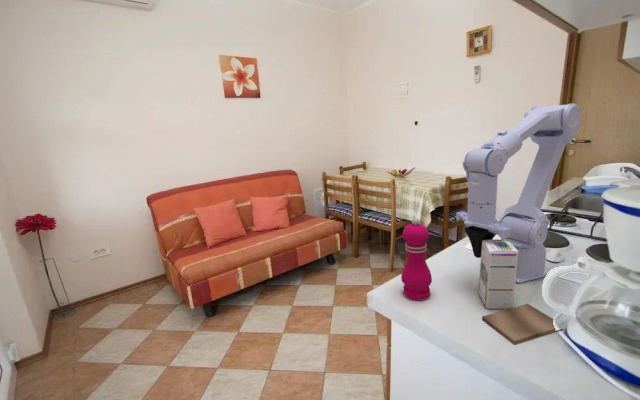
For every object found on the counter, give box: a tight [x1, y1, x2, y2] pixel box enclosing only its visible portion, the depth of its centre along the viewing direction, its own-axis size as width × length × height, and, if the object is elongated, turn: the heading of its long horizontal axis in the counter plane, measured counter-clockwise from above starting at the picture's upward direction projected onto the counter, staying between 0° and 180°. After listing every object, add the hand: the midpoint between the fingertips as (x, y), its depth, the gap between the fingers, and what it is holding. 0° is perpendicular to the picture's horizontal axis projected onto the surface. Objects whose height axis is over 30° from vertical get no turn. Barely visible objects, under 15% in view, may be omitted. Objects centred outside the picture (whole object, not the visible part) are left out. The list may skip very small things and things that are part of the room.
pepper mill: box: [400, 217, 433, 301], centre depth 74 cm, size 7×7×20 cm
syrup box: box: [478, 239, 518, 310], centre depth 68 cm, size 6×6×14 cm
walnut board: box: [481, 303, 556, 345], centre depth 62 cm, size 12×8×1 cm, turn 105°
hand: (479, 256), depth 73 cm, fingers closed
